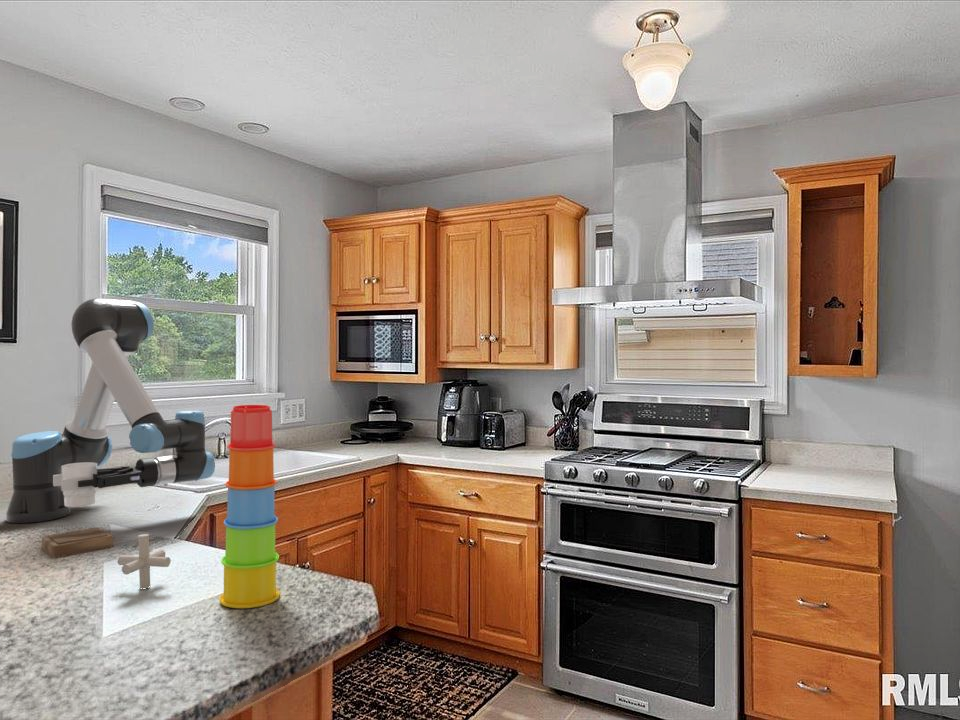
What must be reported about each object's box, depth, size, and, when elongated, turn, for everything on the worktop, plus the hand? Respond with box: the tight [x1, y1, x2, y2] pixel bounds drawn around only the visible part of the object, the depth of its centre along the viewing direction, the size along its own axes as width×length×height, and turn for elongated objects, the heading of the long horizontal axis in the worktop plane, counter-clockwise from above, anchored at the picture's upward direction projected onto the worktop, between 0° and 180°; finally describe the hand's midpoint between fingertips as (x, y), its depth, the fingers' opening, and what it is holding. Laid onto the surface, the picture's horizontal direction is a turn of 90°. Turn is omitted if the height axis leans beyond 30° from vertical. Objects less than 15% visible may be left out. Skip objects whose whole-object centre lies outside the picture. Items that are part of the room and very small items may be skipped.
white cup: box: [61, 462, 98, 508], centre depth 176 cm, size 8×8×10 cm
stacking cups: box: [218, 404, 281, 609], centre depth 125 cm, size 10×10×35 cm
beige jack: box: [117, 533, 172, 590], centre depth 133 cm, size 10×10×10 cm
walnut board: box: [41, 526, 115, 559], centre depth 163 cm, size 12×12×3 cm
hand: (57, 483), depth 173 cm, fingers closed on white cup, 8 cm apart
